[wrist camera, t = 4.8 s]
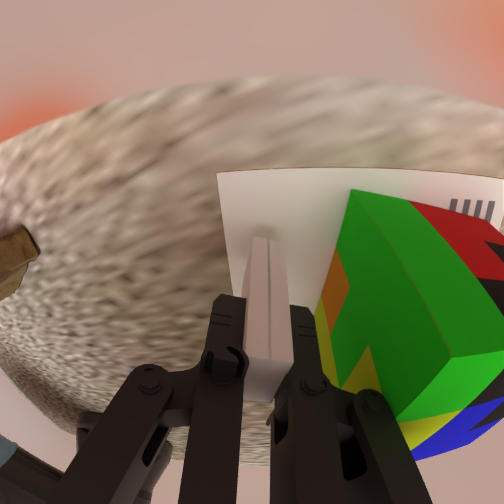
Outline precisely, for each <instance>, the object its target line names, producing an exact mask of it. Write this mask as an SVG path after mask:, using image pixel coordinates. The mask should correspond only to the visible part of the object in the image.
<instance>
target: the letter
mask: <svg viewBox="0 0 504 504" xmlns="http://www.w3.org/2000/svg"><path fill="white" fill-rule="evenodd" d="M217 181H218V189H219V197H220V205H221V212H222V220H223V227H224V234H225V242H226V249H227V256H228V263H229V270H230V276H231V283H232V290H233V296H236V297H241V295H242V284H243V279H244V274H245V270H246V266H247V261H248V257H249V252H250V248H251V244H252V239H253V236H254V237H259V238H265V239H270V240H275V241H280V242H284V252H285V262H286V273H287V283H288V295H289V304H290V305H297V306H304V307H308V308H309V310H310V311H311V313H312V314H313V316H314V314H315V311H316V308H317V305H318V302H319V299H320V296H321V293H322V290H323V287H324V284H325V281H326V277H327V274H328V271H329V268H330V264H331V261H332V258H333V254H334V251H335V248H336V244H337V241H338V237H339V234H340V230H341V226H342V223H343V219H344V215H345V211H346V208H347V204H348V200H349V196H350V192H351V189H355V190H360V191H366V192H371V193H376V194H381V195H386V196H391V197H396V198H400V199H405V200H409V201H414V202H418V203H422V204H427V205H431V206H435V207H439V208H443V209H447V210H451V211H455V212H458V213H462V214H466V215H469V216H473V217H476V218H480V219H483V220H487V221H488V222H489V223H490V224H491V225H492V226H493V227H494V228H496V229H497V230H498V231H499V228H500V225H501V221H502V218H503V214H504V179H500V178H493V177H485V176H477V175H468V174H459V173H449V172H437V171H424V170H409V169H388V168H346V167H326V168H282V169H261V170H244V171H230V172H217Z"/></svg>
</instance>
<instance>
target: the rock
mask: <svg viewBox="0 0 504 504" xmlns="http://www.w3.org/2000/svg"><path fill="white" fill-rule="evenodd" d="M37 256H38V252H37V250H36V248H35V246H34V245H33V243H32V241H31V239H30V236H29V234H28V233H27V231H26V230H25V229H23V228H21V229H19V230H17V231H14V232H12V233H11V234H10V235H9V236H3V237H2V238H0V301H1V300H3V299H5V298H6V297H8V296H10V295H11V294H12V293H15V290H16V289H17V288H18V287H19V286H20V282H21V281H22V276H23V274H25V272H26V269H27V264H28V263H29V262H31V261H35V260H36V258H37Z"/></svg>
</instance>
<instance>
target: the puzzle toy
mask: <svg viewBox="0 0 504 504" xmlns="http://www.w3.org/2000/svg"><path fill="white" fill-rule="evenodd" d="M314 318H315V324H316V330H317V338H318V343H319V350H320V357H321V364H322V370H323V373H324V374H325V375H326V376H327V378H328V379H329V380H330V382H331V384H332V385H334V386H335V387H337V388H340V389H342V390H345V391H348V392H351V393H354V394H357V393H358V392H359V391H361V390H363V389H373V390H376V391H378V392H379V393H381V394H382V395H383V396H384V397H385V399H386V400H387V402H388V404H389V406H390V408H391V410H392V412H393V415H394V417H395V419H396V421H397V423H398V425H399V427H400V429H401V431H402V434H403V436H404V438H405V440H406V442H407V444H408V447H409V449H410V451H411V453H412V456H413V458H414V460H415V461H417V460H421V459H425V458H428V457H432V456H435V455H438V454H442V453H445V452H448V451H451V450H454V449H457V448H459V447H462V446H465V445H468V444H470V443H471V442H473V441H474V440H475V439H477V438H478V437H479V436H481V435H482V434H484V433H485V432H486V431H487V430H489V429H490V428H491V427H492V426H494V425H495V424H496V423H497V422H499V421H500V420H501V419H502V418H503V417H504V236H503V235H502V234H501V233H500V232H499V231H498V230H497V229H496V228H494V227H493V226H492V225H491V224H490V223H489V222H488V221H487V220H483V219H480V218H476V217H473V216H469V215H466V214H462V213H458V212H455V211H451V210H447V209H443V208H439V207H435V206H431V205H427V204H422V203H418V202H414V201H409V200H405V199H400V198H396V197H391V196H386V195H381V194H376V193H371V192H366V191H360V190H355V189H351V192H350V196H349V200H348V204H347V208H346V211H345V215H344V219H343V223H342V226H341V230H340V234H339V237H338V241H337V244H336V248H335V251H334V254H333V258H332V261H331V264H330V268H329V271H328V274H327V277H326V281H325V284H324V287H323V290H322V293H321V296H320V299H319V302H318V305H317V308H316V311H315V314H314Z"/></svg>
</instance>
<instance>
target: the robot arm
mask: <svg viewBox="0 0 504 504" xmlns="http://www.w3.org/2000/svg"><path fill="white" fill-rule="evenodd" d="M274 397H275V408H274V410H273V411H272V413H271V415H270V416H269V418H268V419H267V422H266V425H267V426H269V424H270V423H271V453H270V504H433V503H432V500H431V498H430V496H429V493H428V491H427V488H426V486H425V483H424V481H423V479H422V476H421V474H420V472H419V469H418V467H417V465H416V462H415V460H414V458H413V456H412V453H411V451H410V449H409V447H408V444H407V442H406V440H405V438H404V436H403V434H402V431H401V429H400V427H399V425H398V423H397V421H396V419H395V417H394V415H393V412H392V410H391V408H390V406H389V404H388V402H387V400H386V399H385V397H384V396H383V395H382V394H381V393H379V392H378V391H376V390H373V389H363V390H361V391H359V392H358V393H357V394H354V393H351V392H348V391H345V390H342V389H340V388H337V387H335V386H334V385H332V384H331V382H330V380H329V379H328V378H327V376H326V375H325V374H324V373H323V370H322V364H321V357H320V350H319V343H318V338H317V330H316V324H315V318H314V316H313V314H312V313H311V311H310V310H309V308H308V307H304V306H297V305H290V304H289V295H288V283H287V273H286V262H285V252H284V242H280V241H275V240H270V239H265V238H259V237H254V236H253V239H252V244H251V248H250V252H249V257H248V261H247V266H246V270H245V274H244V279H243V284H242V295H241V297H236V296H231V295H225V294H220V295H219V296H218V298H217V299H216V300H215V301H214V302H213V307H212V312H211V317H210V323H209V328H208V333H207V338H206V343H205V349H204V351H203V354H202V356H201V361H200V362H199V364H197V365H196V366H195V367H193V368H191V369H189V370H184V371H176V372H168V371H167V370H165V369H164V368H162V367H161V366H158V365H154V364H143V365H141V366H139V367H136V368H135V369H134V370H133V371H132V372H131V373H130V374H129V376H128V377H127V379H126V380H125V381H124V383H123V384H122V386H121V387H120V389H119V390H118V392H117V393H116V395H115V396H114V398H113V399H112V401H111V402H110V404H109V405H108V407H107V408H106V410H105V411H104V413H103V414H102V415H101V414H96V413H82V414H81V415H80V417H79V420H78V423H77V426H76V446H77V454H76V456H75V457H74V459H73V460H72V462H71V463H70V465H69V467H68V468H67V470H66V471H65V473H64V472H62V471H60V470H58V469H57V468H55V467H53V466H51V465H49V464H47V463H46V462H44V461H42V460H40V459H39V458H37V457H35V456H34V455H32V454H30V453H29V452H27V451H25V450H24V449H23V448H21V447H19V446H18V444H17V443H15V442H11V441H10V440H8V439H6V438H5V437H4V436H2V435H1V434H0V504H150V503H151V497H152V492H153V488H154V486H155V485H156V483H157V481H158V480H159V478H160V477H161V475H162V474H163V472H164V470H165V469H166V467H167V465H168V464H169V462H170V459H171V454H172V446H171V445H170V444H169V443H168V442H167V441H166V439H167V437H168V435H169V433H170V431H171V429H172V427H181V426H190V429H189V435H188V441H187V447H186V453H185V459H184V466H183V472H182V479H181V485H180V493H179V499H178V504H236V496H237V481H238V479H237V478H238V466H239V452H240V437H241V422H242V407H243V400H246V401H254V402H264V403H271V402H272V400H273V399H274Z"/></svg>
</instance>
